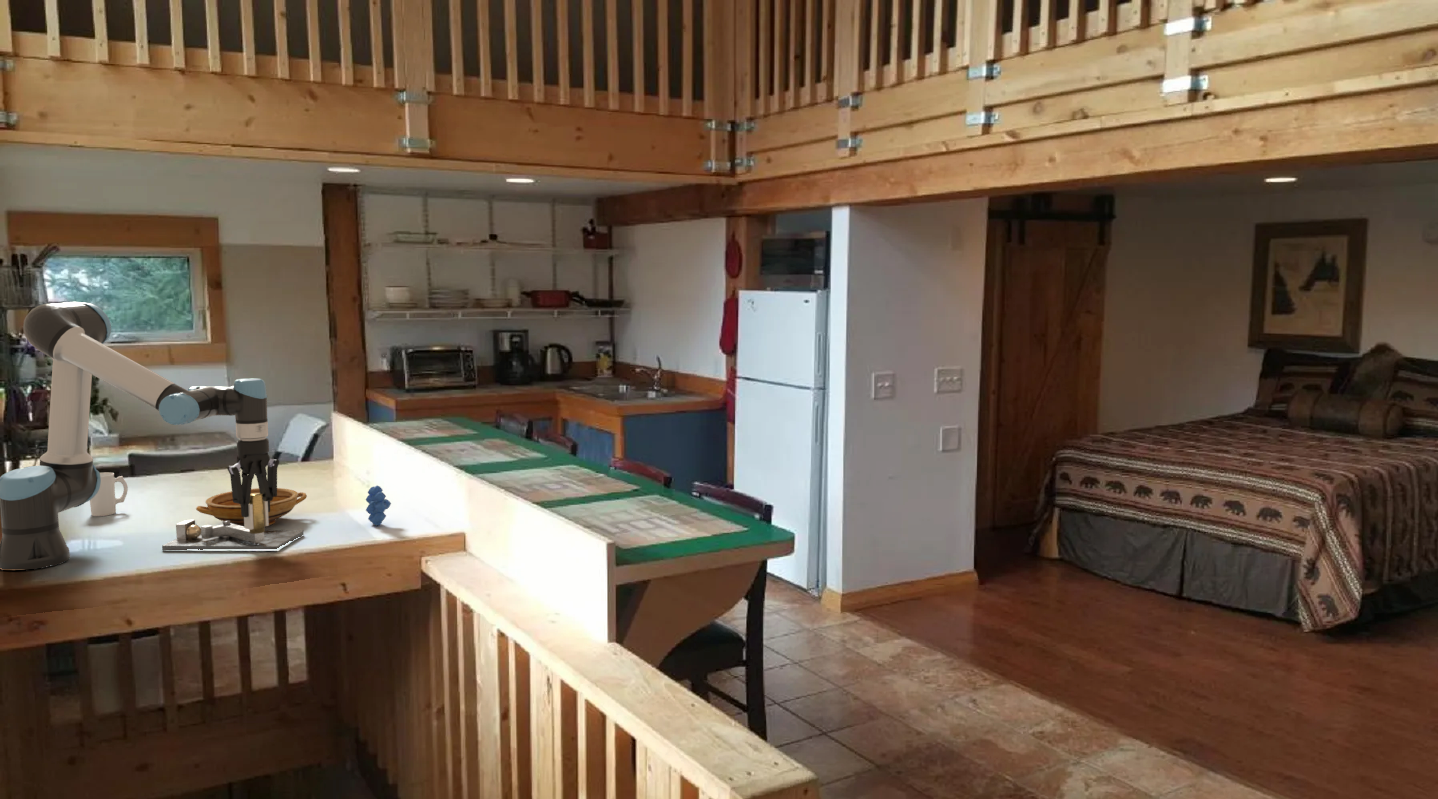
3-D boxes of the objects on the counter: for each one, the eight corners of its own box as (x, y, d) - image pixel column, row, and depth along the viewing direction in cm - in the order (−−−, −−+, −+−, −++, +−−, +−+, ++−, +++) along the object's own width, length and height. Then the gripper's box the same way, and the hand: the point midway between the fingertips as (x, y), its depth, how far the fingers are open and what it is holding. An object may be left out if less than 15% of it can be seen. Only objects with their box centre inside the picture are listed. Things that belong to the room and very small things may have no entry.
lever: (238, 547, 252) (235, 500, 251) (201, 538, 262) (198, 491, 260) (268, 540, 259) (265, 493, 258) (231, 531, 268) (228, 486, 267)
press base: (277, 552, 257) (275, 531, 256) (162, 551, 257) (161, 530, 256) (303, 535, 272) (302, 516, 272) (195, 535, 273) (194, 515, 272)
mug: (91, 517, 291) (88, 477, 290) (88, 513, 297) (85, 474, 295) (131, 512, 298) (128, 473, 296) (127, 508, 303) (124, 470, 301)
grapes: (399, 527, 282) (397, 486, 280) (375, 531, 277) (373, 489, 276) (385, 519, 291) (383, 479, 289) (361, 523, 287) (360, 482, 285)
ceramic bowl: (208, 541, 267) (206, 512, 266) (187, 523, 285) (186, 496, 284) (320, 523, 286) (319, 496, 285) (294, 508, 304) (293, 482, 303)
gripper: (231, 444, 247) (235, 535, 249) (290, 435, 261) (293, 522, 264) (213, 441, 250) (217, 531, 253) (272, 432, 265) (276, 518, 267)
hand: (256, 526), depth 258 cm, fingers closed on lever, 4 cm apart
